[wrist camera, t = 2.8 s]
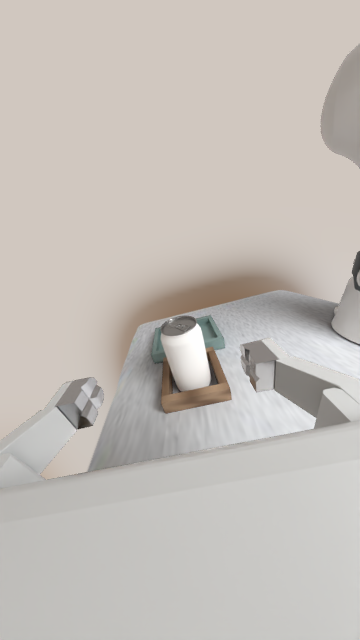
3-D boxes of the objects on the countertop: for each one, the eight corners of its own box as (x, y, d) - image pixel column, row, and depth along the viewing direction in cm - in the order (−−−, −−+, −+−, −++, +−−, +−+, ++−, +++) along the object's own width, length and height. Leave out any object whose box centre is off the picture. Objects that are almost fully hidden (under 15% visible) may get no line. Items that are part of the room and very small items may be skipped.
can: (191, 363, 33) (177, 312, 28) (218, 375, 29) (208, 317, 24) (169, 385, 30) (149, 331, 24) (196, 403, 25) (178, 342, 20)
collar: (214, 355, 34) (212, 346, 33) (231, 399, 24) (230, 388, 23) (166, 366, 34) (163, 357, 33) (165, 413, 25) (161, 403, 24)
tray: (212, 322, 46) (210, 315, 45) (224, 347, 35) (223, 338, 34) (158, 335, 47) (155, 328, 46) (154, 363, 36) (151, 355, 35)
